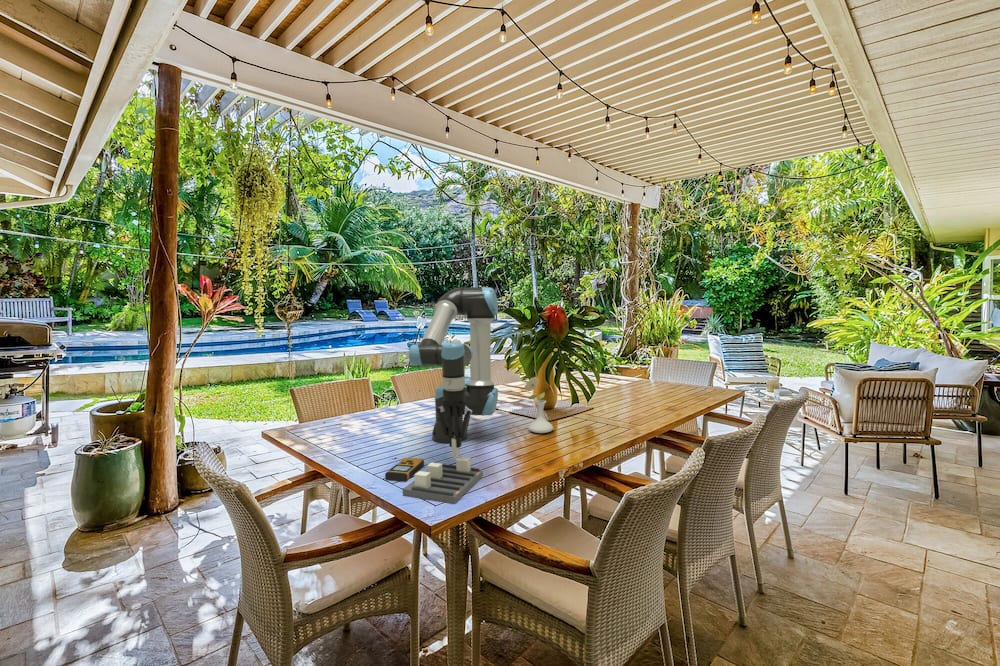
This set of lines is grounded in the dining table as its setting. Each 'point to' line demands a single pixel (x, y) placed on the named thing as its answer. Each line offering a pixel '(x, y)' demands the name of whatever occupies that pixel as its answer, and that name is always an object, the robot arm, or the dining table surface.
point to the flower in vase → (540, 423)
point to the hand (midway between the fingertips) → (455, 456)
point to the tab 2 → (435, 470)
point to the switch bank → (446, 485)
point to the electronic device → (404, 469)
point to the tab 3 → (463, 464)
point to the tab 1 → (423, 479)
